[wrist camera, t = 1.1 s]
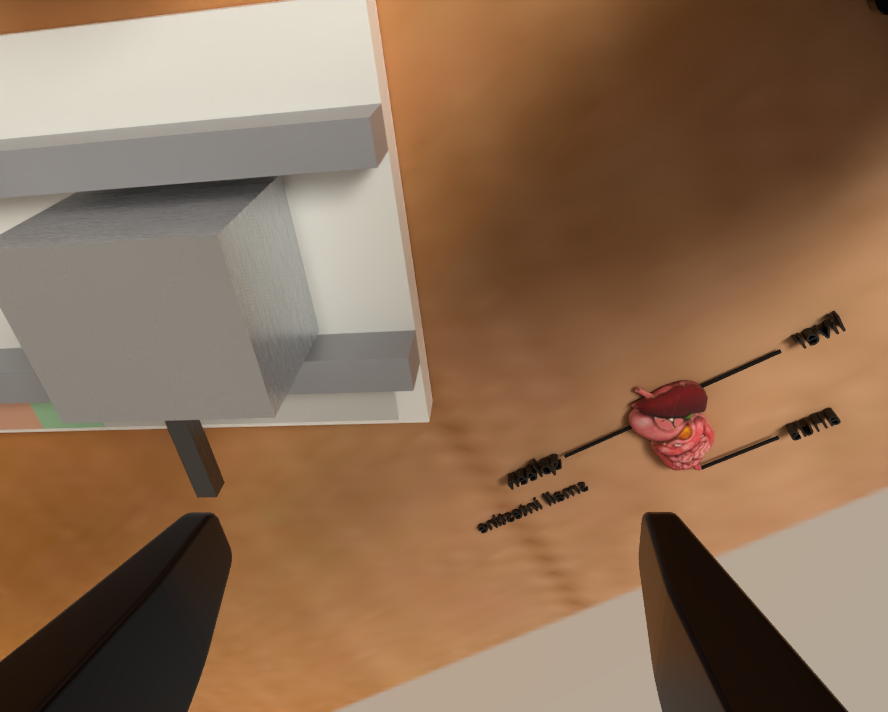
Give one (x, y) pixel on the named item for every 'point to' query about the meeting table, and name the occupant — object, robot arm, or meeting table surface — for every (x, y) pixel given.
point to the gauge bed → (233, 176)
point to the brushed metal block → (162, 307)
